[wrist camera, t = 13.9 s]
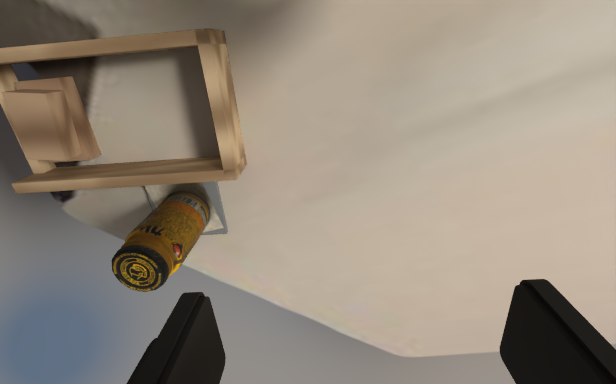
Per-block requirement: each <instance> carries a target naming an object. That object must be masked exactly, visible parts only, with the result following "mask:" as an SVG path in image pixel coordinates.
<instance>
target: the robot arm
mask: <svg viewBox="0 0 616 384" xmlns="http://www.w3.org/2000/svg"><path fill="white" fill-rule="evenodd" d="M500 354H501V357H502V360H503V362H504V364H505V365H506V367H507V369H508V371H509V372H510V374H511V376H512V377H513V379H514V381H515V383H516V384H616V350H615V349H614V348H613V347H612V345H611V344H610V343H609V342H608V341H607V340H606V339H605V338H604V337H603V336H602V335H601V334H600V333H599V332H598V331H597V330H596V329H595V328H594V327H593V326H592V325H591V324H590V323H589V322H588V321H587V320H586V319H585V318H584V317H583V316H582V315H581V314H580V313H579V312H578V311H577V310H576V309H575V308H574V307H573V306H572V305H571V304H570V303H569V302H568V301H567V299H566V298H565V297H564V296H563V295H562V294H561V293H560V292H559V291H558V290H557V289H556V288H555V287H554V286H553V285H552V284H551V283H550V282H549V281H547V280H545V279H536V280H522V281H521V282H520V285H517V286H516V287H515V289H514V293H513V297H512V301H511V305H510V309H509V313H508V317H507V321H506V325H505V329H504V333H503V337H502V341H501V345H500ZM224 366H225V352H224V349H223V345H222V341H221V338H220V334H219V331H218V327H217V323H216V319H215V316H214V312H213V309H212V305H211V302H210V298H209V297H205V296H204V294H203V293H202V292H192V293H183V294H182V295H181V297H180V298H179V300H178V302H177V304H176V306H175V308H174V309H173V311H172V313H171V315H170V316H169V318H168V320H167V322H166V323H165V325H164V327H163V329H162V331H161V332H160V334H159V336H158V338H155V339H154V340H153V341H152V342H151V343H150V345H149V346H148V348H147V349H146V351H145V353H144V355H143V356H142V358H141V360H140V361H139V363H138V365H137V367H136V369H135V370H134V372H133V374H132V375H131V377H130V379H129V381H128V383H127V384H219V383H220V380H221V376H222V373H223V370H224Z"/></svg>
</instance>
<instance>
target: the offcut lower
mask: <svg viewBox="0 0 616 384" xmlns="http://www.w3.org/2000/svg"><path fill="white" fill-rule="evenodd" d="M14 84H15V86H16V89H17V90H20V89H35V90H64V93H65V96H66V100H67V103H68V106H69V110H70V113H71V117H72V120H73V124H74V127H75V131H76V134H77V138H78V141H79V145H80V148H81V152H82V154H81V155H78V156H76V157H74V158H72V159H69V160H67V161H81V160H91V159H93V158H95V157H97V156H99V155H101V152H100V149H99V147H98V144H97V141H96V139H95V136H94V133H93V131H92V128H91V125H90V123H89V120H88V117H87V115H86V112H85V109H84V107H83V104H82V101H81V99H80V96H79V93H78V91H77V88H76V85H75V83H74V80H73V77H72V76H70V77H59V78H48V79H37V80H27V81H18V82H14ZM49 161H50V163H53V162H67V161H54V160H49Z"/></svg>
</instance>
